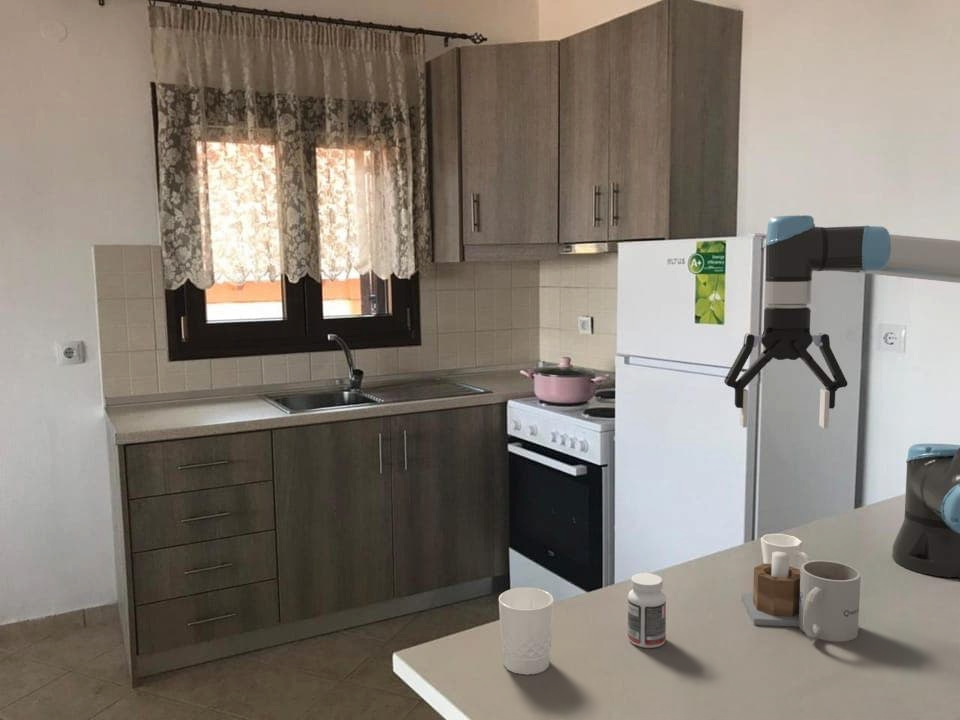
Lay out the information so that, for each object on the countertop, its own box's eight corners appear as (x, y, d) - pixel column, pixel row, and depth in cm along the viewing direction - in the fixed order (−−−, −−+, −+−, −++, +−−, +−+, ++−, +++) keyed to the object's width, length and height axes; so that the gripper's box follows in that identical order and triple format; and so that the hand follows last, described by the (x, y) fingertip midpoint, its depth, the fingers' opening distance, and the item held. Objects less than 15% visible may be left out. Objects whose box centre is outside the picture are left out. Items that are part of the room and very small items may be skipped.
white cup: (537, 683, 112) (537, 614, 111) (489, 668, 116) (488, 602, 115) (562, 659, 119) (562, 594, 117) (516, 646, 123) (515, 583, 121)
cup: (777, 572, 150) (778, 530, 149) (823, 591, 141) (825, 546, 140) (750, 580, 147) (752, 537, 146) (796, 599, 138) (798, 554, 137)
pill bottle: (667, 635, 126) (668, 574, 124) (663, 651, 120) (664, 588, 119) (630, 630, 128) (631, 569, 126) (624, 646, 122) (625, 583, 121)
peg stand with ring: (801, 601, 137) (803, 544, 136) (819, 627, 127) (821, 566, 126) (741, 598, 139) (742, 542, 137) (753, 624, 129) (755, 564, 127)
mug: (819, 614, 133) (822, 556, 132) (869, 634, 126) (872, 573, 125) (772, 633, 126) (774, 573, 125) (821, 656, 119) (824, 591, 118)
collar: (794, 598, 136) (795, 564, 135) (806, 617, 129) (807, 581, 128) (750, 596, 137) (751, 563, 136) (759, 615, 130) (760, 579, 129)
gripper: (855, 304, 142) (850, 422, 144) (709, 305, 145) (707, 421, 147) (870, 306, 134) (865, 431, 137) (717, 307, 137) (714, 429, 140)
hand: (783, 426), depth 142 cm, fingers open, 13 cm apart
